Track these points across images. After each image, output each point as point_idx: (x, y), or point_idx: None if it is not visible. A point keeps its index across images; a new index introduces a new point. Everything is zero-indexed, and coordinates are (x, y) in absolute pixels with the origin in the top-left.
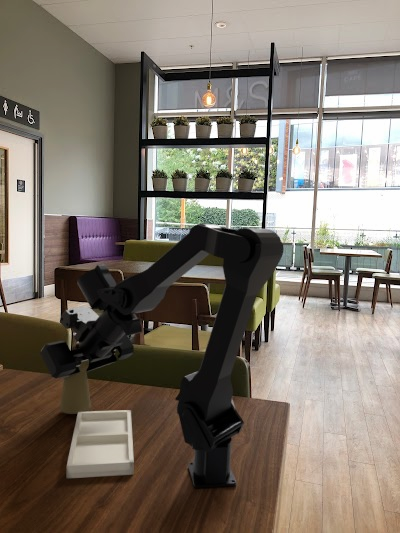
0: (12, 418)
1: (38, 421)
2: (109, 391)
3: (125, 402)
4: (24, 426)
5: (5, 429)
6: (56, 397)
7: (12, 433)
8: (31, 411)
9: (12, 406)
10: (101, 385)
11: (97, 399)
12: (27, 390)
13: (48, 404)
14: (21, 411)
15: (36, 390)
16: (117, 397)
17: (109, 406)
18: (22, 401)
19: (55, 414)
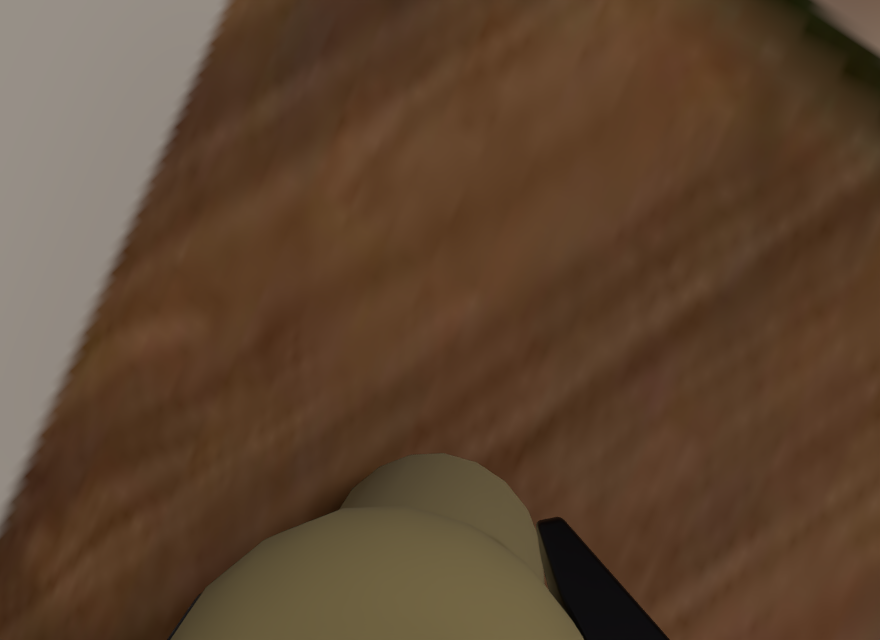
0: (103, 387)
1: (199, 523)
2: (808, 333)
3: (830, 595)
4: (105, 542)
5: (9, 513)
6: (446, 231)
7: (13, 593)
8: (230, 353)
9: (177, 219)
10: (801, 199)
11: (668, 418)
12: (346, 35)
13: (358, 310)
14: (185, 319)
15: (390, 61)
16: (815, 471)
17: (690, 588)
18: (252, 179)
19: (326, 486)
